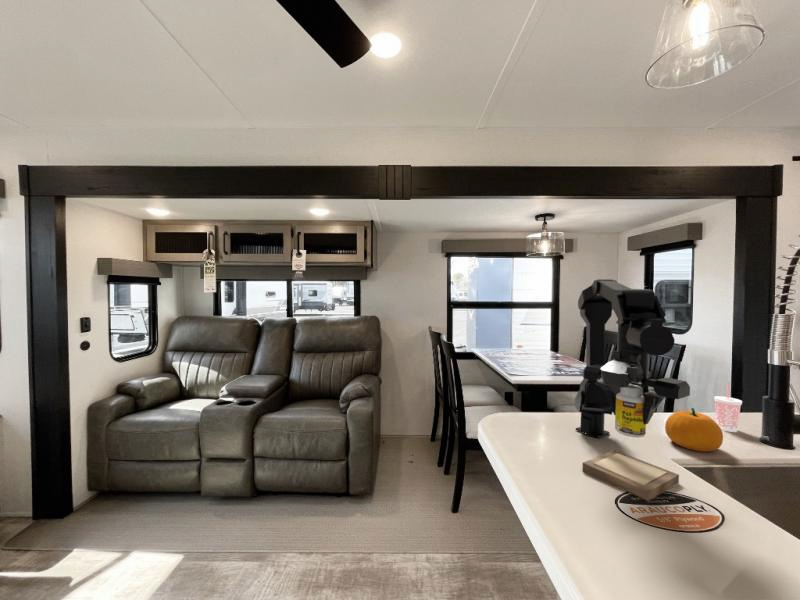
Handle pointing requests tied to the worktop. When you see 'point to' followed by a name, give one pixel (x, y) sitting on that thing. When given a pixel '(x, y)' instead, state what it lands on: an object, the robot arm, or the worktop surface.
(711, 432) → the fruit
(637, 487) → the brown picture frame
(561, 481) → the worktop surface
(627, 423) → the supplement bottle
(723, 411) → the beverage cup
